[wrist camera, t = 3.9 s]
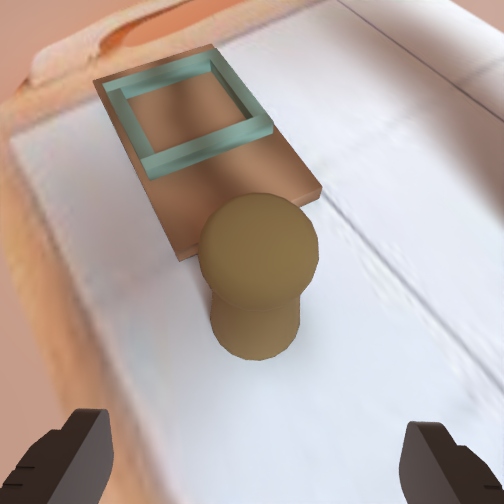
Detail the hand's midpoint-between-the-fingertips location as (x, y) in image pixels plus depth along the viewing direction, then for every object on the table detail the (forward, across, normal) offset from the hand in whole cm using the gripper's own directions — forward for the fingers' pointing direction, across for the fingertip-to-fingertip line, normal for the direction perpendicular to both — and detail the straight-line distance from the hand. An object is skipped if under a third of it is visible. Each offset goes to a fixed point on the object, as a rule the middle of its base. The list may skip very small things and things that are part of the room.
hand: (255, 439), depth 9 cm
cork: (+14, 0, +4) cm, 14 cm away
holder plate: (+24, +5, -7) cm, 26 cm away
